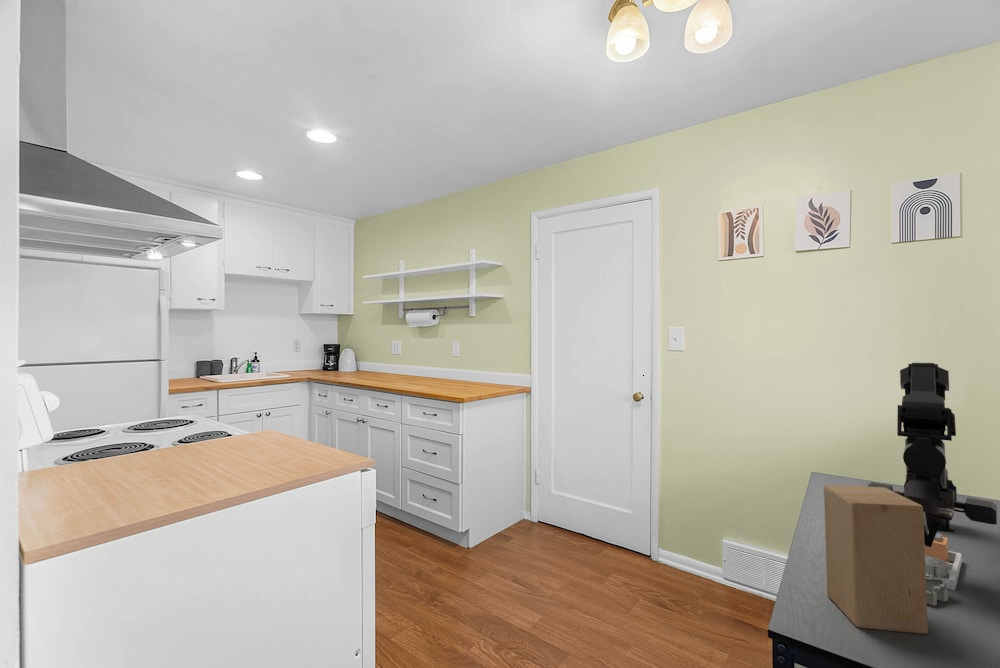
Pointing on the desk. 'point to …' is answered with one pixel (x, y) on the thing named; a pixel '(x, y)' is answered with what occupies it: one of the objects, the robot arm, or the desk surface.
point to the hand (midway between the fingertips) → (928, 546)
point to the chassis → (953, 569)
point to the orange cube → (938, 548)
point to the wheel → (936, 567)
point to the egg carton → (936, 589)
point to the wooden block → (876, 558)
